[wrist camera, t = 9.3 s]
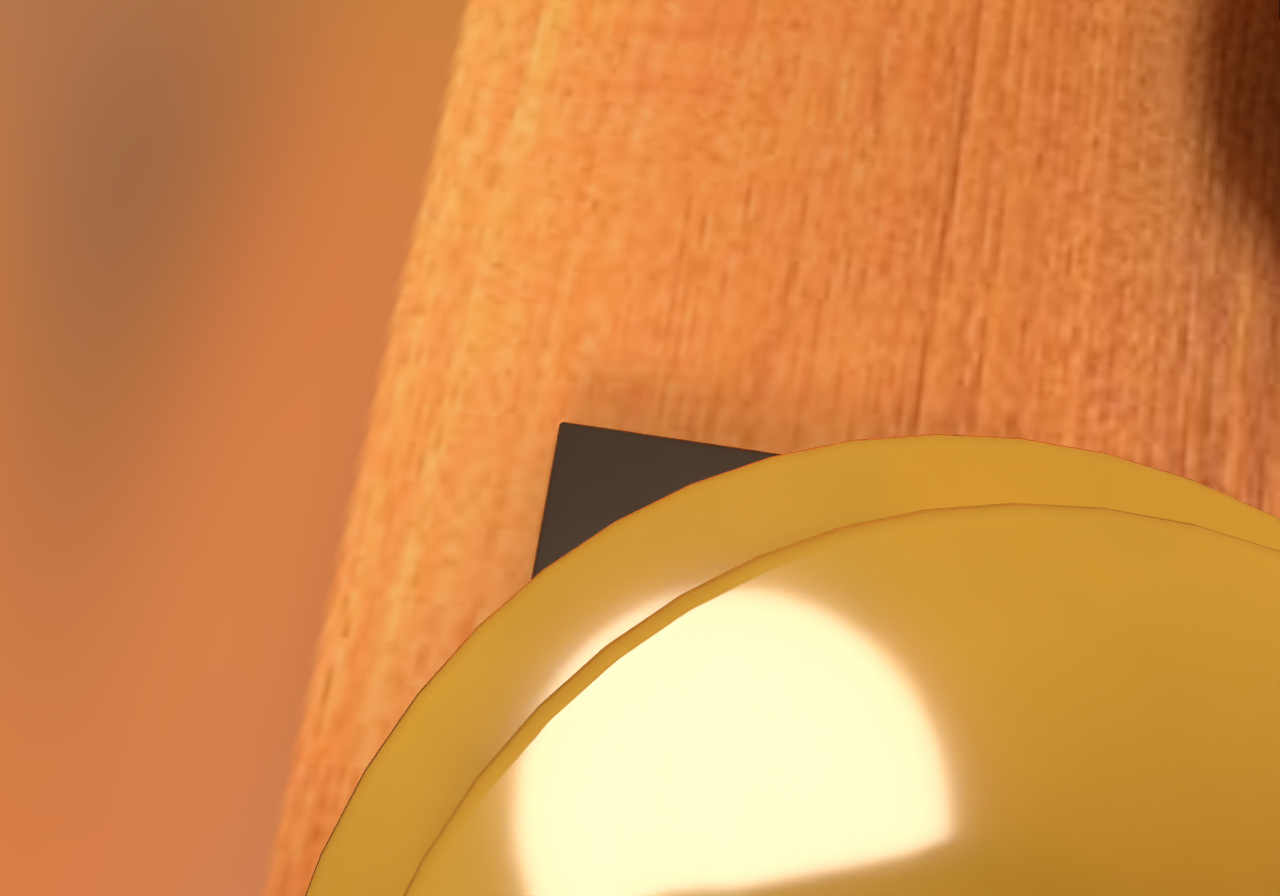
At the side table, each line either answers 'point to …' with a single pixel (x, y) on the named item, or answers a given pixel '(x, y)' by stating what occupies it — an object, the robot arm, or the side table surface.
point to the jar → (858, 694)
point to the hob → (619, 480)
